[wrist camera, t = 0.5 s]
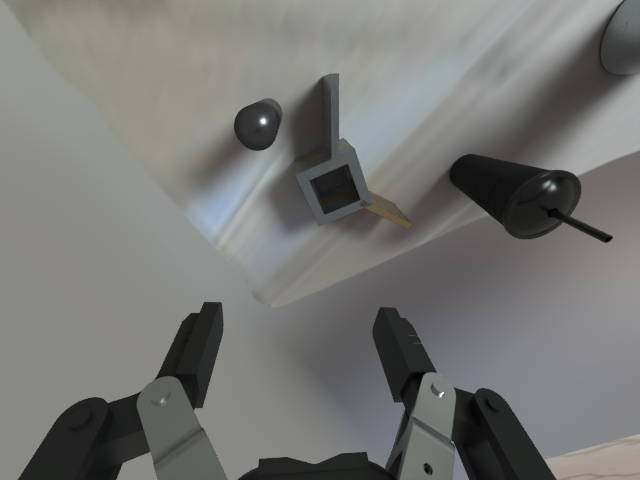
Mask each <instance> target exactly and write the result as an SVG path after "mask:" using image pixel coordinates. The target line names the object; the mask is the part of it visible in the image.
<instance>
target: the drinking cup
mask: <svg viewBox="0 0 640 480" xmlns="http://www.w3.org/2000/svg"><path fill="white" fill-rule="evenodd" d="M450 180H451V182H452V183H453V184H454V185H455V186H456V187H457V188H459V189H460V190H461V191H462V192H463V193H465V194H466V195H467V196H468V197H469V198H471V199H472V200H473V201H474V202H475V203H477V204H478V205H479V206H480V207H481V208H483V209H484V210H485V211H486V212H488V213H489V214H490V215H491V216H492V217H494V218H495V219H496V220H497V221H498V222H500V223H501V224H502V225H503V226H504V228H505V230H506V231H507V232H508V233H509V234H510V235H512V236H513V237H515V238H519V239H533V238H537V237H540V236H543V235H545V234H547V233H549V232H551V231H552V230H554V229H556V228H557V227H558V226H559V225H561V224H562V223H563V222H564V223H566V224H568V225H570V226H572V227H574V228H576V229H578V230H580V231H582V232H584V233H586V234H588V235H590V236H592V237H595V238H597V239H599V240H600V241H602V242H605V243H607V242H609V241H611V239H612V238H613V237H612V236H611V235H609V234H607V233H605V232H602V231H600V230H598V229H596V228H594V227H592V226H589V225H587V224H585V223H583V222H581V221H579V220H577V219H574V218H572V217H570V215H571V213H572V212H573V211H574V209H575V207H576V206H577V204H578V202H579V199H580V195H581V184H580V181H579V179H578V178H577V177H576V176H575V175H574V174H573V173H571V172H568V171H564V170H551V171H550V170H545V169H541V168H536V167H531V166H526V165H522V164H517V163H512V162H507V161H502V160H498V159H493V158H488V157H483V156H478V155H474V154H468V155H465V156H462V157H461V158H459V159H458V160H457V161H456V162H455V163H454V164H453V166H452V168H451V170H450Z"/></svg>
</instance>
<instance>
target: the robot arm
mask: <svg viewBox="0 0 640 480" xmlns="http://www.w3.org/2000/svg"><path fill="white" fill-rule="evenodd" d="M601 61H602V64H603V66H604V68H605V69H606V70H607V71H608V72H610V73H612V74H620V75H622V74H640V0H625V1H624V3H623V4H622V5H621V6H620V7H619V9H618V10H617V12H616V13H615V15H614V16H613V18H612V20H611V21H610V23H609V25H608V27H607V29H606V32H605V34H604V37H603V41H602V45H601ZM222 334H223V312H222V303H221V302H204V304H203V306H202V309H201V311H200V313H191V314H190V315H189V316H188V317H187V318H186V319H185V320H184V321H183V322H182V324H181V326H180V328H179V330H178V333H177V334H176V337H175V339H174V342H173V343H172V345H171V348H170V349H169V352H168V354H167V356H166V358H165V361H164V362H163V365H162V367H161V369H160V371H159V373H158V375H157V377H156V378H155V380H154V381H152V382H151V383H149V384H148V385H147V386H146V387H145V388H144V389H143V390H142V391H141V392H139V393H137V394H135V395H132V396H129V397H126V398H123V399H120V400H117V401H113V402H110V403H107V402H106V401H105V400H104V399H102V398H98V397H93V398H88V399H85V400H82V401H79V402H77V403H76V404H74V405H72V406H71V407H70V408H68V409H67V410H65V411H64V412H63V413H62V414H61V415H60V416H59V418H58V419H57V420H56V422H55V423H54V425H53V426H52V428H51V429H50V431H49V432H48V434H47V436H46V437H45V439H44V440H43V442H42V443H41V445H40V446H39V448H38V449H37V451H36V452H35V454H34V456H33V457H32V459H31V460H30V462H29V464H28V465H27V466H26V468H25V469H24V471H23V473H22V474H21V476H20V477H19V479H18V480H116V479H117V476H118V474H119V471H120V469H121V466H122V463H124V462H126V461H128V460H131V459H134V458H136V457H138V456H141V455H143V454H146V453H148V452H151V455H152V458H153V462H154V468H155V472H156V476H157V479H158V480H228V479H227V477H226V475H225V473H224V470H223V468H222V466H221V464H220V462H219V460H218V457H217V455H216V453H215V451H214V449H213V447H212V444H211V442H210V440H209V438H208V436H207V434H206V432H205V430H204V429H203V428H202V427H201V426H200V424H199V421H198V419H197V417H196V415H195V413H194V409H195V408H202V407H203V404H204V400H205V397H206V393H207V389H208V385H209V382H210V378H211V375H212V371H213V367H214V364H215V360H216V356H217V353H218V349H219V345H220V342H221V339H222ZM373 339H374V342H375V345H376V348H377V351H378V354H379V357H380V360H381V363H382V366H383V369H384V372H385V375H386V378H387V381H388V384H389V387H390V390H391V393H392V396H393V399H394V402H403V404H404V406H405V410H404V412H403V415H402V418H401V422H400V425H399V428H398V432H397V435H396V439H395V442H394V445H393V449H392V451H391V454H390V457H389V459H388V461H387V464H386V466H385V469H384V468H383V467H381V466H379V465H378V464H376V463H373V462H371V461H368V457H367V452H361V453H360V452H358V453H343V454H339V455H337V456H335V457H332V458H330V459H328V460H325V461H323V462H320V463H318V464H311V463H307V462H303V461H300V460H295V459H292V458H288V457H281V458H267V459H259V467H258V468H255V469H253V470H251V471H249V472H247V473H246V474H244V475H243V476H242V477H240V478H239V479H238V480H452V478H453V469H454V459H455V446H456V448H457V451H458V453H459V456H460V458H461V460H462V463H463V465H464V468H465V470H466V473H467V475H468V477H469V480H556V478H555V477H554V475H553V474H552V472H551V470H550V469H549V467H548V466H547V464H546V463H545V461H544V459H543V458H542V456H541V455H540V453H539V452H538V450H537V448H536V447H535V446H534V444H533V442H532V441H531V439H530V438H529V436H528V435H527V433H526V431H525V430H524V428H523V427H522V425H521V423H520V422H519V420H518V419H517V417H516V416H515V414H514V413H513V411H512V409H511V408H510V406H509V405H508V403H507V402H506V401H505V400H504V399H503V398H502V397H501V396H500V395H498V394H497V393H496V392H494V391H492V390H490V389H485V388H481V389H479V390H477V392H476V393H475V394H473V393H470V392H467V391H463V390H460V389H457V388H454V387H453V386H452V384H451V383H450V382H449V381H448V380H447V379H446V378H445V377H443V376H442V375H439V374H437V372H436V370H435V368H434V366H433V364H432V362H431V360H430V359H429V357H428V355H427V353H426V351H425V349H424V347H423V345H422V344H421V341H420V339H419V338H418V337H417V333H416V331H415V330H414V328H413V326H412V325H411V324H410V323H409V322H408V321H407V320H406V319H405V318H400V315H399V313H398V311H397V309H396V308H388V307H381V308H380V309H379V311H378V314H377V317H376V320H375V323H374V326H373ZM451 441H454V444H455V446H454V445H453V444H452V443H451Z"/></svg>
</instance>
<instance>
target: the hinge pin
mask: <svg viewBox="0 0 640 480" xmlns="http://www.w3.org/2000/svg"><path fill="white" fill-rule="evenodd" d="M281 119H282V109H281V107H280V105H279V104H278V103H277V102H276V101H275V100H273V99H269V98H267V99H263V100H261V101H258V102H256V103H254V104H251V105H249V106H247V107H245V108H243V109H242V110H240V111H239V112H238V114H237V116H236V118H235V122H234V129H235V133H236V136H237V138H238V139H239V141H240V142H241V143H242V144H243V145H244V146H245V147H247V148H249V149H251V150H256V151H260V150H264V149H267V148H268V147H270V146H271V145H272V144H273V142H274V141H275V138H276V135H277V132H278V129H279V126H280V122H281Z"/></svg>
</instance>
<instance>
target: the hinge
mask: <svg viewBox="0 0 640 480" xmlns="http://www.w3.org/2000/svg"><path fill="white" fill-rule="evenodd" d="M323 105H324V140H325V147H322V148H320V149H318V150H316V151H314V152H311V153H309V154H307V155H305V156H302V157H300V158H298V159H296V160H294V164H295V176H296V179H297V181H298V183H299V185H300V187H301V189H302V191H303V193H304V195H305V198H306V200H307V202H308V204H309V206H310V208H311V210H312V212H313V214H314V217H315V219H316V221H317V223H318V225H319V226H321V225H324V224H326V223H329V222H331V221H334V220H336V219H338V218H341V217H343V216H346V215H348V214H351V213H353V212H356V211H358V210H360V209H363V208H366V209H368V210H370V211H372V212H374V213H376V214H378V215H380V216H382V217H384V218H386V219H389V220H391V221H393V222H395V223H397V224H399V225H401V226H403V227H405V228H407V229H410V228H411V226H412V225H413V224H412V223H411V222H410V221H409V220H408V218H407V217H406V216H405V215H404V214H403V213H402V212H401V211H400V209H399V208H398V207H397V206H396V205H395V204H394V203H392V202H390V201H388V200H386V199H384V198H382V197H380V196H378V195H376V194H374V193H372V192H370V191H368V189H367V185H366V182H365V179H364V176H363V173H362V170H361V167H360V164H359V161H358V158H357V154H356V151H355V149H354V148H353V147H352V146H351V145H350V144H349V143H348V142H347V141H346V140H345V139H344V138H343V139H340V140H339V74H329V75H326V76H323ZM341 166H344V168H345V171H346V173H347V176H348V179H349V182H348V183H345V184H343V185H341V186H338V187H336V188H334V189H331V190H329V191H327V192H324V193H322V194H320V195H319V193H318V191H317V189H316V186H315V184H314V182H313V180H312V179H314V178H316V177H318V176H321V175H323V174H325V173H327V172H330V171H332V170H334V169H337V168H339V167H341Z"/></svg>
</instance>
